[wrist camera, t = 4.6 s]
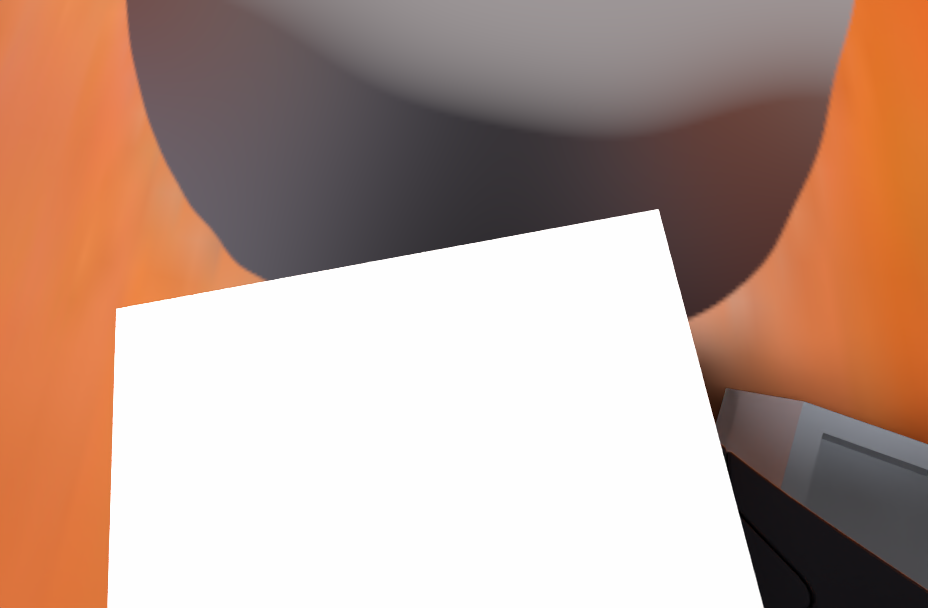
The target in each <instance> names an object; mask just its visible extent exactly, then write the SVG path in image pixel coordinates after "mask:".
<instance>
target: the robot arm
mask: <svg viewBox="0 0 928 608" xmlns="http://www.w3.org/2000/svg"><path fill="white" fill-rule="evenodd" d="M720 445H721V449H722V452H723V456H724V460H725V464H726V467H727V471H728V475H729V479H730V483H731V486H732V490H733V494H734V498H735V501H736V505H737V509H738V513H739V517H740V520H741V524H742V528H743V532H744V536H745V539H746V543H747V547H748V551H749V554H750V558H751V562H752V566H753V570H754V573H755V577H756V581H757V585H758V588H759V592H760V596H761V600H762V604H763V607H764V608H928V590H927V589H926V588H924V587H923V586H921V585H920V584H918V583H917V582H915V581H914V580H912V579H911V578H909V577H908V576H906V575H905V574H903V573H902V572H900V571H899V570H897V569H896V568H894V567H893V566H891V565H890V564H888V563H887V562H886V561H884V560H883V559H881V558H880V557H878V556H877V555H875V554H874V553H872V552H871V551H869V550H868V549H866V548H865V547H863V546H862V545H860V544H859V543H857V542H856V541H854V540H853V539H851V538H850V537H848V536H847V535H845V534H844V533H843V532H841V531H840V530H838V529H837V528H835V527H834V526H832V525H831V524H829V523H828V522H827V521H825V520H824V519H822V518H821V517H819V516H818V515H817V514H815V513H814V512H812V511H811V510H809V509H808V508H807V507H805V506H804V505H802V504H801V503H799V502H798V501H796V500H795V499H794V498H792V497H791V496H789V495H788V494H787V493H785V492H784V491H783V490H781V489H780V488H779V487H777V486H776V485H775V484H773V483H772V482H771V481H769V480H768V479H767V478H765V477H764V476H763V475H761V474H760V473H759V472H757V471H756V470H755V469H753V468H752V467H751V466H749V465H748V464H747V463H746V462H744V461H743V460H742V459H740V458H739V457H738V456H737V455H735V454H734V453H733V452H731V451H727V450H726V447H725V446H723V445H722V444H721V443H720Z"/></svg>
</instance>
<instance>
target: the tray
mask: <svg viewBox="0 0 928 608" xmlns="http://www.w3.org/2000/svg"><path fill="white" fill-rule="evenodd" d="M715 426H716V430H717V433H718V437H719V441H720V443H721V444H722V445H723V446H725V447H726V450H727V451H731V452H733V453H734V454H735V455H737V456H738V457H739V458H740V459H742V460H743V461H744V462H746V463H747V464H748V465H749V466H751V467H752V468H753V469H755V470H756V471H757V472H759V473H760V474H761V475H763V476H764V477H765V478H767V479H768V480H769V481H771V482H772V483H773V484H775V485H776V486H777V487H779V488H780V489H781V490H783V491H784V492H785V493H787V494H788V495H789V496H791V497H792V498H794V499H795V500H796V501H798V502H799V503H801V504H802V505H804V506H805V507H807V508H808V509H809V510H811V511H812V512H814V513H815V514H817V515H818V516H819V517H821V518H822V519H824V520H825V521H827V522H828V523H829V524H831V525H832V526H834V527H835V528H837V529H838V530H840V531H841V532H843V533H844V534H845V535H847V536H848V537H850V538H851V539H853V540H854V541H856V542H857V543H859V544H860V545H862V546H863V547H865V548H866V549H868V550H869V551H871V552H872V553H874V554H875V555H877V556H878V557H880V558H881V559H883V560H884V561H886V562H887V563H888V564H890V565H891V566H893V567H894V568H896V569H897V570H899V571H900V572H902V573H903V574H905V575H906V576H908V577H909V578H911V579H912V580H914V581H915V582H917V583H918V584H920V585H921V586H923V587H924V588H926V589H927V590H928V444H925V443H923V442H920V441H917V440H914V439H911V438H908V437H905V436H902V435H899V434H896V433H894V432H891V431H888V430H885V429H882V428H879V427H876V426H873V425H870V424H868V423H865V422H862V421H859V420H856V419H853V418H850V417H847V416H844V415H841V414H839V413H836V412H833V411H830V410H827V409H824V408H821V407H818V406H815V405H813V404H810V403H807V402H804V401H798V400H793V399H787V398H781V397H775V396H769V395H764V394H758V393H752V392H746V391H741V390H735V389H729V388H726V390H725V394H724V397H723V401H722V404H721V408H720V411H719V415H718V418H717V422H716V425H715Z"/></svg>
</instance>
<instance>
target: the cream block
mask: <svg viewBox="0 0 928 608" xmlns="http://www.w3.org/2000/svg"><path fill="white" fill-rule="evenodd" d="M108 608H764V607H763V604H762V600H761V596H760V592H759V588H758V585H757V581H756V577H755V573H754V570H753V566H752V562H751V558H750V554H749V551H748V547H747V543H746V539H745V536H744V532H743V528H742V524H741V520H740V517H739V513H738V509H737V505H736V501H735V498H734V494H733V490H732V486H731V483H730V479H729V475H728V471H727V467H726V464H725V460H724V456H723V452H722V449H721V445H720V441H719V437H718V433H717V430H716V426H715V422H714V418H713V415H712V411H711V407H710V403H709V399H708V396H707V392H706V388H705V384H704V380H703V377H702V373H701V369H700V365H699V362H698V358H697V354H696V350H695V346H694V343H693V339H692V335H691V331H690V328H689V324H688V320H687V316H686V312H685V309H684V305H683V301H682V297H681V294H680V290H679V286H678V283H677V278H676V275H675V271H674V267H673V263H672V260H671V256H670V253H669V248H668V244H667V241H666V237H665V233H664V229H663V225H662V222H661V218H660V214H659V211H658V210H652V211H647V212H641V213H636V214H630V215H625V216H620V217H615V218H609V219H603V220H598V221H592V222H587V223H582V224H576V225H571V226H565V227H560V228H554V229H549V230H543V231H538V232H533V233H527V234H522V235H516V236H511V237H505V238H500V239H495V240H489V241H484V242H478V243H473V244H467V245H462V246H456V247H451V248H446V249H441V250H435V251H429V252H424V253H418V254H413V255H407V256H402V257H397V258H391V259H386V260H380V261H375V262H369V263H364V264H359V265H353V266H348V267H342V268H337V269H331V270H326V271H321V272H316V273H310V274H304V275H299V276H293V277H288V278H283V279H277V280H272V281H266V282H261V283H255V284H250V285H244V286H239V287H233V288H228V289H223V290H217V291H212V292H206V293H201V294H195V295H190V296H184V297H179V298H174V299H168V300H163V301H157V302H152V303H146V304H141V305H136V306H130V307H125V308H119V309H116V340H115V375H114V409H113V444H112V478H111V513H110V548H109V582H108Z"/></svg>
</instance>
